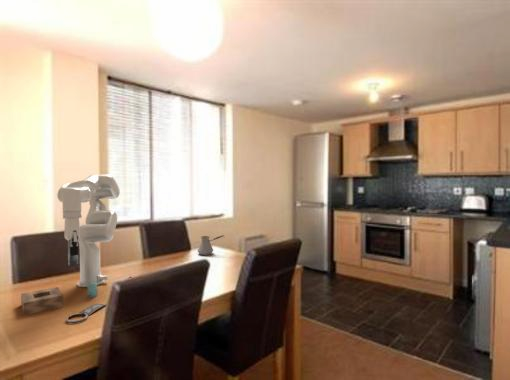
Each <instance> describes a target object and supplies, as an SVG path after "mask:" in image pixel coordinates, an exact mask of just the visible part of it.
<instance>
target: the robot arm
mask: <svg viewBox="0 0 510 380" xmlns="http://www.w3.org/2000/svg"><path fill="white" fill-rule="evenodd" d="M56 196H57V199H58V201H59V202H60V203H62V219H63V220H64V231H63V232H64V239H65V240H66V241H67V242H68V241H69V240H70V244H71V247H70V256H74V255H78V256H79V274H80V275H79V279H80V280H78V281H77V282H76V286H77V287H80V288H88V283H92V282H96V283H97V286H99V285H101V284H103V283H104V281H108V280H109V275H107V274H106V275H103V273H102V272H101V255H100V254H101V250H100V247H99V246H98V244H97V243H106V242H107V243H108V242H111V240H113V238H114V235H115V231H116V227H117V223H118V214H117V212H116V211H114V210H109V209H108V210H107V206H106V204H105V203H104V202H103V201H102V200H115V199H117V198H119V196H120V188H119V185H118V183H117V181H116V179H115V178H114V177H113V176H112V175H110V174H92V175H89V176H88V177H86V178H84V179H82V180H77V181H73V182H69V183H66V184H64V185H62V186H61V187H60V188H59V189H58V192H57V193H56ZM88 202H89V203H88ZM83 203H88V204H89V209H88V211H87V214H86V218H85V224H82V225H81V226H80V218H81V219H82V204H83ZM77 236H78V237H77ZM72 239H74V240H72ZM72 241H73V242H72Z"/></svg>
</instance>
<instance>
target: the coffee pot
mask: <svg viewBox="0 0 510 380" xmlns="http://www.w3.org/2000/svg"><path fill="white" fill-rule="evenodd" d="M224 237H225V235H224V234H222V235H220V236H216V237H214V238H212V239H210V236H208V235H203V236H200V238H201V240H200V244H199V246H198V248H197V253H198V254H200V256H210V255H211V254H212V253H213V252H214V248H213V246H212V244H211V242H212V241H215V240H218V239H220V238H224Z"/></svg>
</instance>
